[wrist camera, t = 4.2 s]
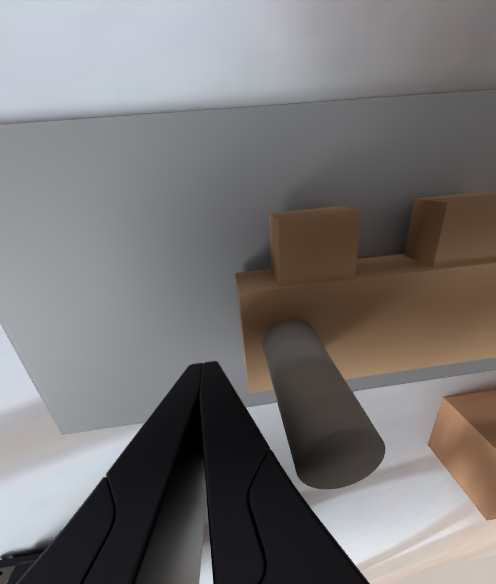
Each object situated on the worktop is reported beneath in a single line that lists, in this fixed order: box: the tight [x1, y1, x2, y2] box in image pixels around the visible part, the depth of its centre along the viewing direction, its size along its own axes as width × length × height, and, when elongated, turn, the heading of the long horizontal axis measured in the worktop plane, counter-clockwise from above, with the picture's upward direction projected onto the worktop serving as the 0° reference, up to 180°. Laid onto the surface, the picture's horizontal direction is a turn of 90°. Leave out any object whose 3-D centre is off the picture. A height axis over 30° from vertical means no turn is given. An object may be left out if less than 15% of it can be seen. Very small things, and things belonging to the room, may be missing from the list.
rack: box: [235, 192, 496, 489], centre depth 8 cm, size 6×14×6 cm, turn 95°
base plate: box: [0, 89, 496, 435], centre depth 11 cm, size 12×25×1 cm, turn 95°
